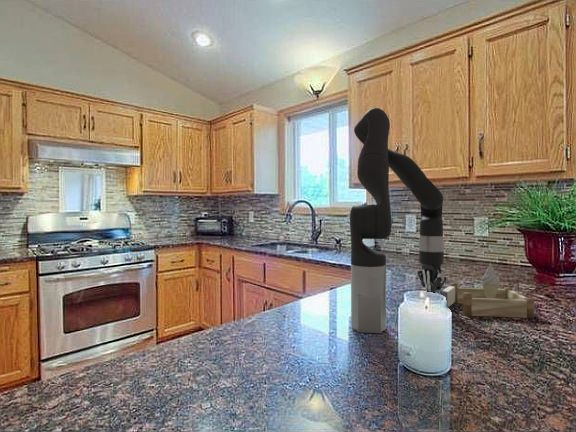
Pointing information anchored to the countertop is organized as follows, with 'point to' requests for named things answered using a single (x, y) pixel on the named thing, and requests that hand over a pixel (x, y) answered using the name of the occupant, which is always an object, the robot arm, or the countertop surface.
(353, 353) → the countertop surface
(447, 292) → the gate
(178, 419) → the countertop surface
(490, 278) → the ice cream cone
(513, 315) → the shallow wooden tray
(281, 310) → the countertop surface
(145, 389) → the countertop surface
